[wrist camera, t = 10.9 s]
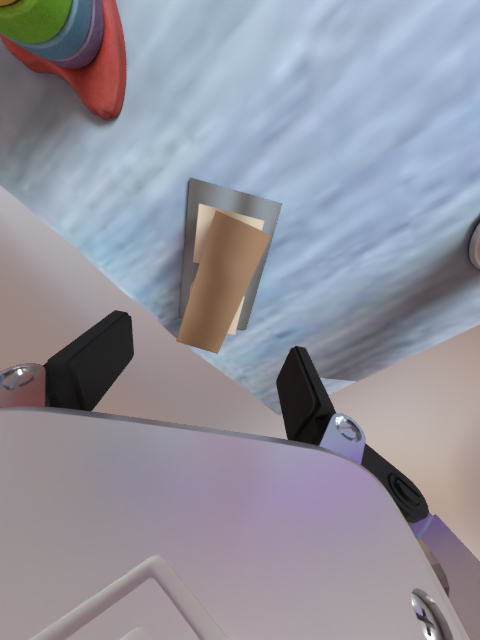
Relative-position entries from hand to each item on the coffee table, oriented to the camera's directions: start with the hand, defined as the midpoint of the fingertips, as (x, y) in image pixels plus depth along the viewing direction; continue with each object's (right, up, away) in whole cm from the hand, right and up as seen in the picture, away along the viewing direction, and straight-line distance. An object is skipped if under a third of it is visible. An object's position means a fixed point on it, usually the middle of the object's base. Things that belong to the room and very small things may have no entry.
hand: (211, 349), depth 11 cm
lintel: (-1, +7, +12) cm, 14 cm away
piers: (-1, +10, +18) cm, 20 cm away
